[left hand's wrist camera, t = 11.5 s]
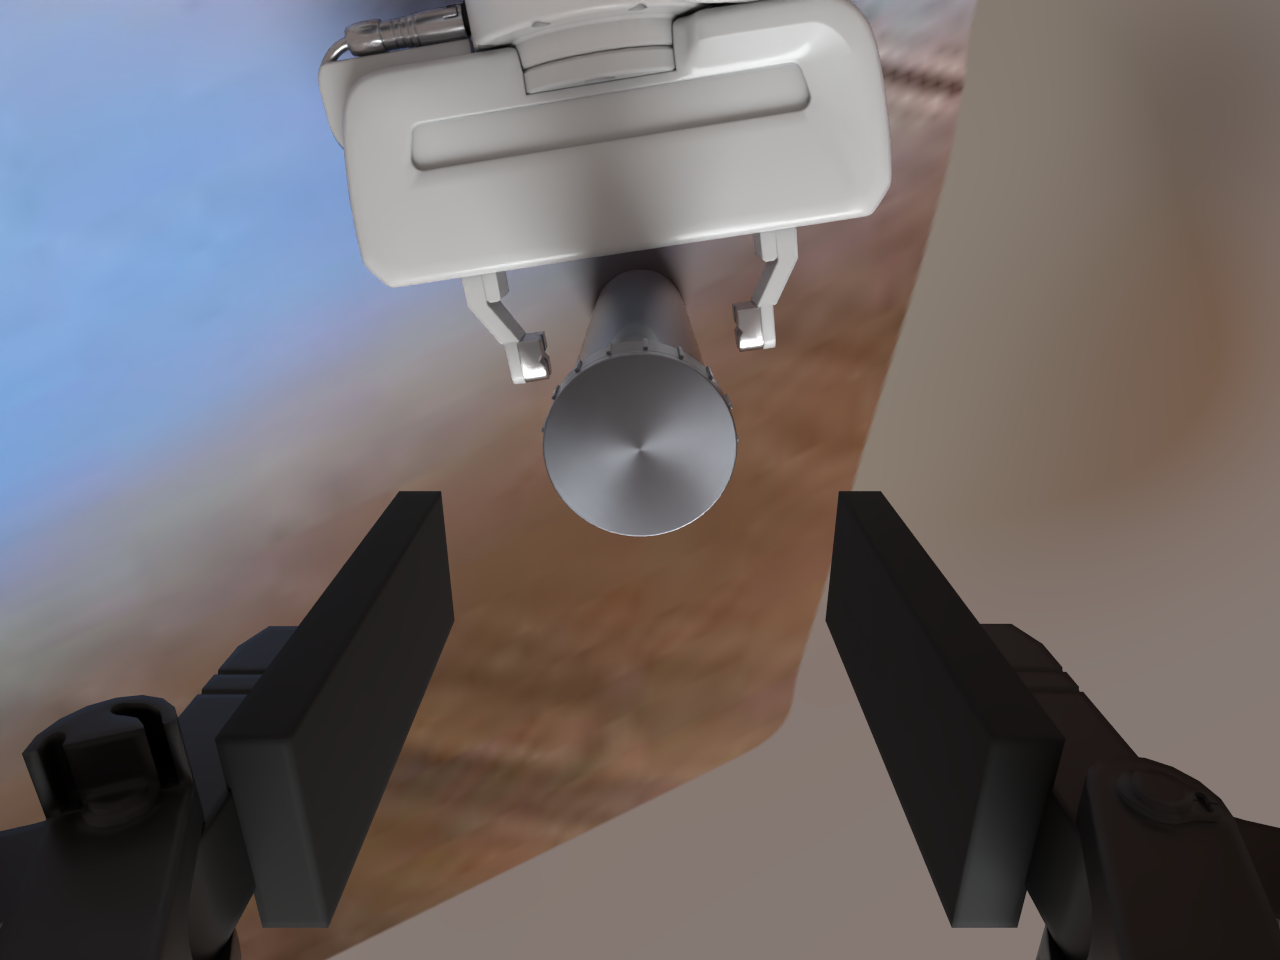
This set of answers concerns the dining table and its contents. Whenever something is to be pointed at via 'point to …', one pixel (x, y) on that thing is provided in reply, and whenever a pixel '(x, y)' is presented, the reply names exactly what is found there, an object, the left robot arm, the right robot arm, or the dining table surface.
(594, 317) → the dark grey cylinder
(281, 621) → the dining table surface
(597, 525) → the lid
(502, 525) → the dining table surface
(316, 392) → the dining table surface
